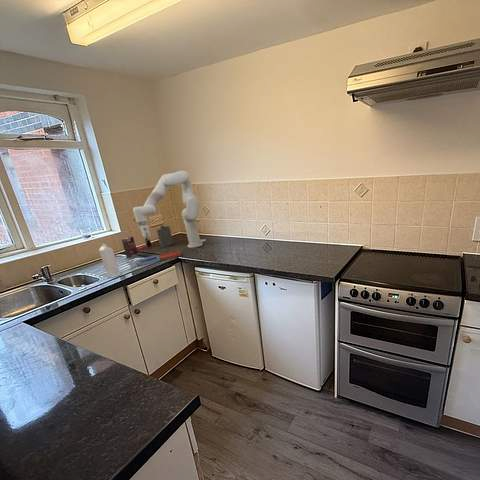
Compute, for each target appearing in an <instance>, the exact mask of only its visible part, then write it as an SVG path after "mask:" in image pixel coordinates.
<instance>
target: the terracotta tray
mask: <svg viewBox="0 0 480 480" xmlns="http://www.w3.org/2000/svg"><path fill="white" fill-rule="evenodd" d="M157 256H158V257H159V258H160V260H161V261H166V260H170V259H174V258H177V257H181V256H182V252H181V251H179V250H172V251H168V252H164V253H160V254H157ZM161 261H160V262H161Z"/></svg>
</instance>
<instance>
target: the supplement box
mask: <svg viewBox="0 0 480 480" xmlns="http://www.w3.org/2000/svg"><path fill="white" fill-rule="evenodd" d="M121 243H122V247H123V249H124V253H125V257H126V259H127V260H131V259H134V258H136V257H138V256H139V252H138V249H137V245H136V242H135V238H134V236H128V237H125V238H122V239H121Z"/></svg>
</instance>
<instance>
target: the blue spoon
mask: <svg viewBox="0 0 480 480" xmlns="http://www.w3.org/2000/svg"><path fill="white" fill-rule="evenodd" d="M154 259H157V257H153V258H149V259H146V260H142V261H140V263H142V262H146V261H150V260H154Z"/></svg>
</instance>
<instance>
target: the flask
mask: <svg viewBox="0 0 480 480" xmlns="http://www.w3.org/2000/svg"><path fill="white" fill-rule="evenodd" d="M159 227H160V228H158V229H156V234H157V238H158V242H159V246H160V248H161V249H164V248H165V247H168V246H171V245H173V244H174V240H173V236H172V231H171V227H170V225H167V226H164V224H162V225H159Z"/></svg>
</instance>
